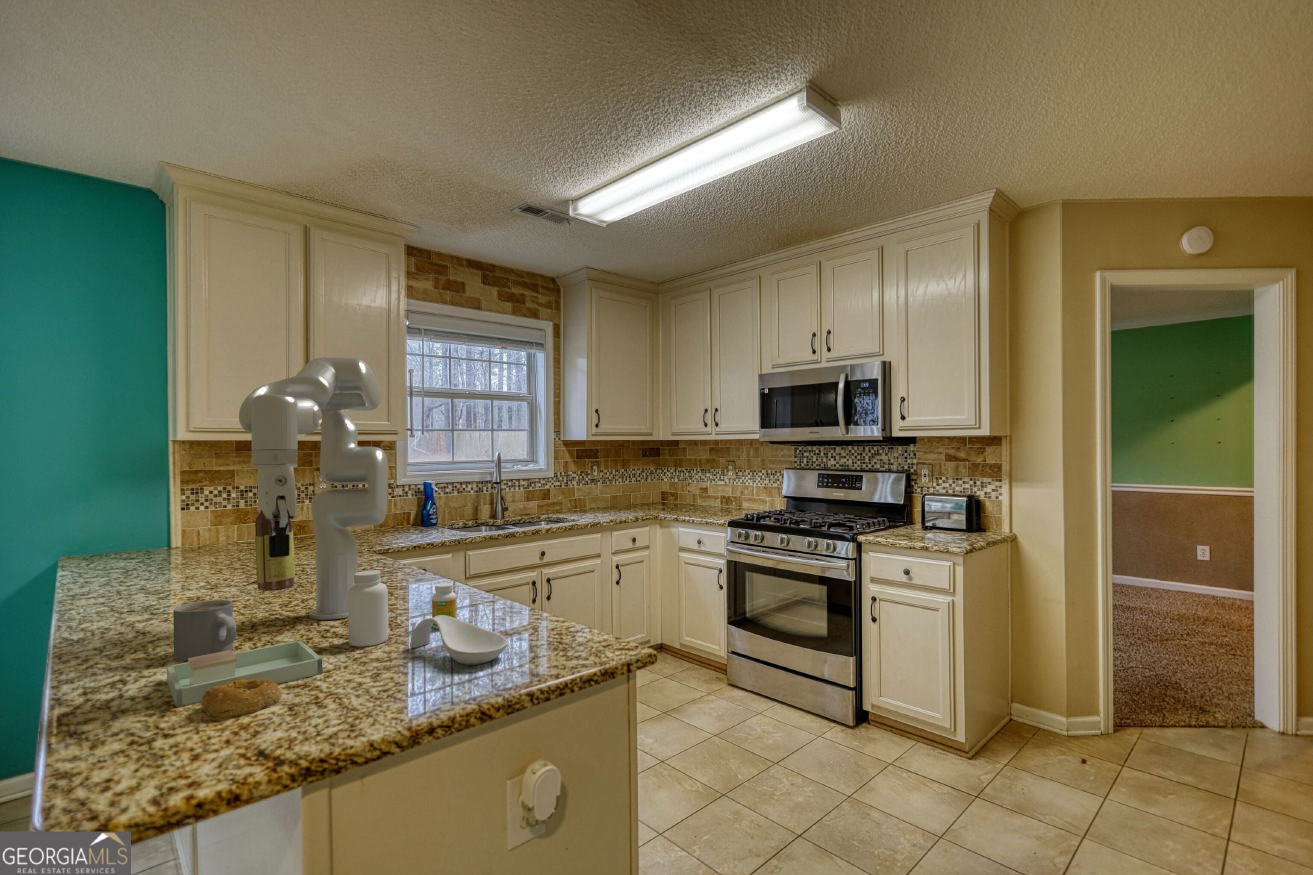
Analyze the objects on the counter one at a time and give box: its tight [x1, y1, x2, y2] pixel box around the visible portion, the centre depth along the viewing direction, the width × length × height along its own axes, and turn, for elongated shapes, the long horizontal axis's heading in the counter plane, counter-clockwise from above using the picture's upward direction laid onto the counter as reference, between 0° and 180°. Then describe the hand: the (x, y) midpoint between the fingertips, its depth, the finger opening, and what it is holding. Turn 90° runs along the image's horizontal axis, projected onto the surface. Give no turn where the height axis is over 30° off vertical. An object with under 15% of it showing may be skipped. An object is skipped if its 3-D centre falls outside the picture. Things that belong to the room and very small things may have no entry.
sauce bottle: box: [254, 506, 296, 592], centre depth 121 cm, size 7×6×20 cm
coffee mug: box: [173, 599, 237, 662], centre depth 131 cm, size 13×10×10 cm
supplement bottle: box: [431, 582, 457, 630], centre depth 150 cm, size 5×5×10 cm
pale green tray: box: [166, 639, 323, 708], centre depth 116 cm, size 22×16×3 cm
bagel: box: [200, 679, 282, 719], centre depth 104 cm, size 10×11×5 cm
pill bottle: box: [347, 569, 389, 648], centre depth 138 cm, size 8×8×15 cm
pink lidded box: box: [187, 650, 237, 686], centre depth 113 cm, size 6×6×5 cm
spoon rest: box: [409, 615, 509, 666], centre depth 129 cm, size 24×12×7 cm, turn 58°
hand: (275, 553), depth 121 cm, fingers closed on sauce bottle, 6 cm apart
